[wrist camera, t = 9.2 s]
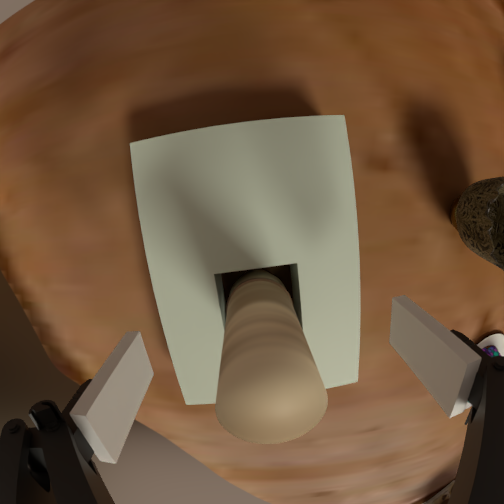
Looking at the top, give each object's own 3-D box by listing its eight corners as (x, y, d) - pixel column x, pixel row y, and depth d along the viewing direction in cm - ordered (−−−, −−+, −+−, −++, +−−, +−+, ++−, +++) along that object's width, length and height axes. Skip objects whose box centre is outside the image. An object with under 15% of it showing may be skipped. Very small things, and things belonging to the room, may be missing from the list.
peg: (225, 265, 23) (201, 370, 9) (281, 258, 23) (330, 353, 9) (233, 316, 24) (224, 448, 10) (286, 309, 24) (328, 435, 10)
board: (148, 150, 21) (129, 143, 17) (327, 126, 21) (344, 115, 17) (193, 377, 25) (186, 404, 21) (343, 357, 25) (357, 381, 21)
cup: (472, 259, 24) (526, 281, 16) (423, 240, 23) (482, 261, 15) (488, 190, 22) (545, 196, 14) (441, 162, 22) (502, 159, 14)
